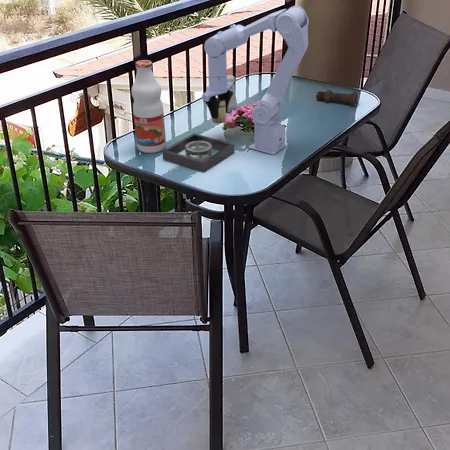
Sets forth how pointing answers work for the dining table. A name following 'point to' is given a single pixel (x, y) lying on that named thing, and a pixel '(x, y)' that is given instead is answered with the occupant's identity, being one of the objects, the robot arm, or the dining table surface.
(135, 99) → the fruit juice
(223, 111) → the beige cylinder
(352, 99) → the bolt
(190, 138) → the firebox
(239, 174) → the dining table surface
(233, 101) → the salt shaker
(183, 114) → the dining table surface
